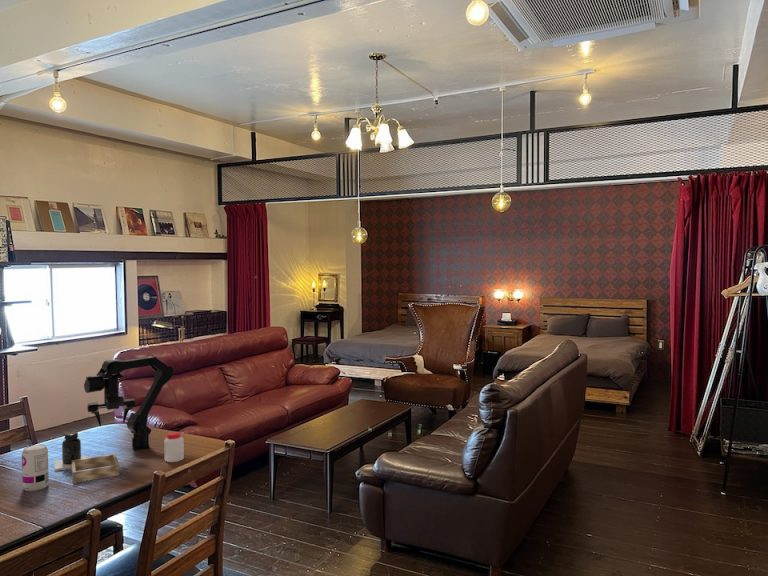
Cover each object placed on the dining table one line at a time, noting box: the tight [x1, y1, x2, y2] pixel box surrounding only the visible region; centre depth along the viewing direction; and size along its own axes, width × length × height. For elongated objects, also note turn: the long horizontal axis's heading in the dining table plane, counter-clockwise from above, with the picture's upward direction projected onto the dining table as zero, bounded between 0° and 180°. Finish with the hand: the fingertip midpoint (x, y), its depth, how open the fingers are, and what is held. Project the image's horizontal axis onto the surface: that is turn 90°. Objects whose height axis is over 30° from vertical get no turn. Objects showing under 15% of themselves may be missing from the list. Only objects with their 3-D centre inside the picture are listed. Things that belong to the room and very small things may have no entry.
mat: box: [54, 455, 88, 472], centre depth 235 cm, size 12×12×1 cm
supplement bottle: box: [61, 431, 82, 464], centre depth 235 cm, size 7×7×12 cm
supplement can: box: [21, 444, 50, 492], centre depth 210 cm, size 8×8×15 cm
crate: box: [71, 453, 121, 484], centre depth 225 cm, size 16×16×4 cm
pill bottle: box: [163, 431, 185, 463], centre depth 241 cm, size 8×8×11 cm
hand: (112, 424), depth 248 cm, fingers open, 9 cm apart
